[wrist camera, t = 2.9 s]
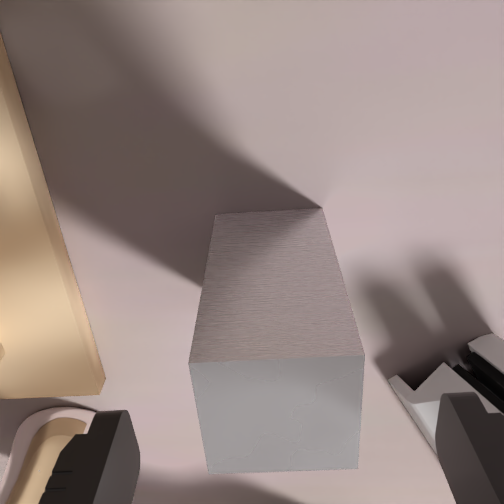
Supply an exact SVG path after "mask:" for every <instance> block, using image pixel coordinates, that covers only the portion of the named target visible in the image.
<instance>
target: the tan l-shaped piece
mask: <svg viewBox="0 0 504 504" xmlns="http://www.w3.org/2000/svg"><path fill="white" fill-rule="evenodd" d="M105 379H106V377H105V374H104V371H103V368H102V364H101V361H100V358H99V354H98V351H97V348H96V345H95V341H94V338H93V335H92V331H91V328H90V325H89V322H88V318H87V315H86V312H85V308H84V305H83V302H82V299H81V295H80V292H79V289H78V285H77V282H76V279H75V276H74V272H73V269H72V266H71V262H70V259H69V256H68V253H67V249H66V246H65V243H64V239H63V236H62V233H61V230H60V226H59V223H58V220H57V217H56V213H55V210H54V207H53V203H52V200H51V197H50V194H49V190H48V187H47V184H46V180H45V177H44V174H43V171H42V167H41V164H40V161H39V157H38V154H37V151H36V148H35V144H34V141H33V138H32V134H31V131H30V128H29V125H28V121H27V118H26V115H25V111H24V108H23V105H22V102H21V98H20V95H19V92H18V88H17V85H16V82H15V79H14V75H13V72H12V69H11V65H10V62H9V59H8V56H7V52H6V49H5V46H4V42H3V39H2V36H1V33H0V399H18V398H40V397H63V396H86V395H100V392H101V390H102V387H103V385H104V382H105Z"/></svg>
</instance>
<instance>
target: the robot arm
mask: <svg viewBox="0 0 504 504" xmlns="http://www.w3.org/2000/svg"><path fill="white" fill-rule="evenodd" d="M435 444H436V450H437V455H438V458H439V461H440V464H441V466H442V469H443V471H444V474H445V476H446V479H447V481H448V484H449V486H450V489H451V491H452V494H453V496H454V499H455V501H456V504H504V415H503V414H502V413H488V412H487V410H486V409H485V407H484V405H483V403H482V402H481V400H480V398H479V396H478V395H477V394H476V393H475V392H457V393H443V394H442V395H441V398H440V405H439V411H438V418H437V425H436V431H435ZM139 470H140V451H139V446H138V443H137V439H136V436H135V432H134V429H133V425H132V422H131V418H130V415H129V413H128V411H127V410H115V411H98V412H97V413H96V414H95V415H94V417H93V420H92V422H91V425H90V427H89V430H88V433H87V434H75V436H74V437H73V438H72V439H71V440H70V441H69V442H68V444H67V445H66V446H65V447H64V448H63V449H62V451H61V452H60V454H59V456H58V458H57V461H56V463H55V466H54V468H53V470H52V475H51V476H50V477H49V480H48V482H47V484H46V487H45V492H44V493H43V494H42V496H41V498H40V501H39V503H38V504H132V500H133V496H134V492H135V488H136V484H137V479H138V475H139Z"/></svg>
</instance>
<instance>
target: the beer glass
mask: <svg viewBox="0 0 504 504" xmlns="http://www.w3.org/2000/svg"><path fill="white" fill-rule="evenodd" d="M96 413H97V412H94V411H91V410H87V409H82V408H76V407H55V408H49V409H45V410H41V411H39V412H36V413H34V414H32V415H31V416H29V417H28V418H27V419H25V420H24V421H23V423H22V424H21V425H20V426H19V428H18V430H17V432H16V435H15V438H14V441H13V445H12V448H11V452H10V456H9V459H8V463H7V466H6V469H5V472H4V474H3V477H2V479H1V482H0V504H38V503H39V501H40V498H41V496H42V494H43V493H44V492H45V487H46V484H47V482H48V480H49V477H50V476H51V475H52V470H53V468H54V466H55V463H56V461H57V458H58V456H59V454H60V452H61V451H62V449H63V448H64V447H65V446H66V445H67V444H68V442H69V441H70V440H71V439H72V438H73V437H74V436H75V434H87V433H88V430H89V427H90V425H91V422H92V420H93V417H94V415H95V414H96Z"/></svg>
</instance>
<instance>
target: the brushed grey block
mask: <svg viewBox="0 0 504 504" xmlns="http://www.w3.org/2000/svg"><path fill="white" fill-rule="evenodd" d="M364 362H365V353H364V350H363V347H362V343H361V340H360V336H359V333H358V329H357V326H356V322H355V319H354V316H353V312H352V309H351V305H350V302H349V298H348V295H347V291H346V288H345V284H344V281H343V278H342V274H341V271H340V267H339V264H338V260H337V257H336V253H335V250H334V246H333V243H332V240H331V236H330V233H329V229H328V226H327V222H326V219H325V215H324V212H323V208H311V209H294V210H278V211H261V212H245V213H228V214H215V220H214V225H213V231H212V236H211V242H210V247H209V253H208V258H207V264H206V269H205V275H204V280H203V286H202V291H201V297H200V302H199V308H198V313H197V319H196V324H195V330H194V335H193V341H192V346H191V352H190V357H189V363H188V364H189V369H190V375H191V380H192V385H193V391H194V396H195V402H196V407H197V413H198V418H199V424H200V429H201V435H202V440H203V446H204V451H205V457H206V462H207V467H208V473H209V474H229V473H257V472H285V471H312V470H340V469H358V457H359V441H360V426H361V410H362V394H363V378H364Z"/></svg>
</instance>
